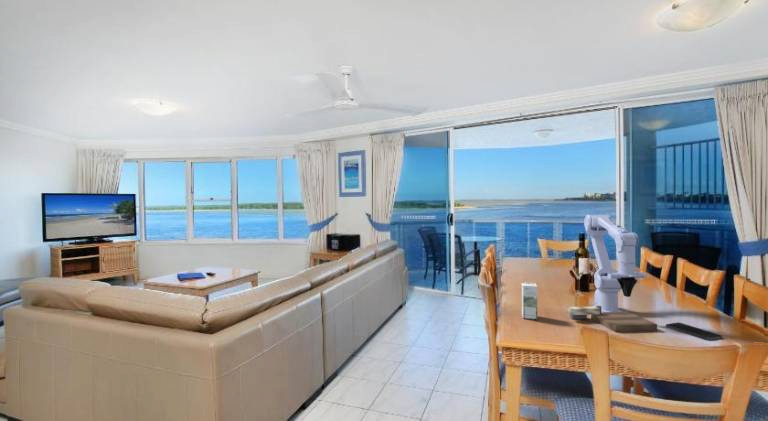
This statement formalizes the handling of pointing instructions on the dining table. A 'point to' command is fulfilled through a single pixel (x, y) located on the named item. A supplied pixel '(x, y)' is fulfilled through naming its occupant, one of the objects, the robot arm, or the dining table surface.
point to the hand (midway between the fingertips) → (626, 296)
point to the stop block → (578, 316)
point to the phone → (694, 331)
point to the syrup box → (529, 300)
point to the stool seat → (624, 322)
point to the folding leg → (584, 310)
